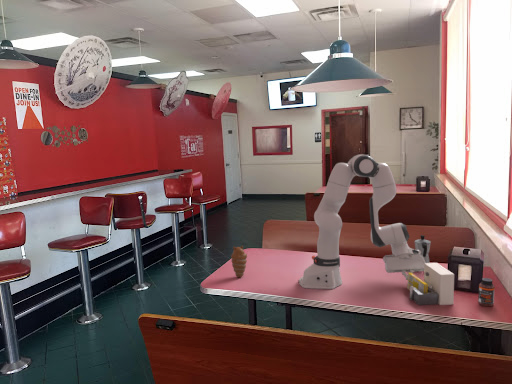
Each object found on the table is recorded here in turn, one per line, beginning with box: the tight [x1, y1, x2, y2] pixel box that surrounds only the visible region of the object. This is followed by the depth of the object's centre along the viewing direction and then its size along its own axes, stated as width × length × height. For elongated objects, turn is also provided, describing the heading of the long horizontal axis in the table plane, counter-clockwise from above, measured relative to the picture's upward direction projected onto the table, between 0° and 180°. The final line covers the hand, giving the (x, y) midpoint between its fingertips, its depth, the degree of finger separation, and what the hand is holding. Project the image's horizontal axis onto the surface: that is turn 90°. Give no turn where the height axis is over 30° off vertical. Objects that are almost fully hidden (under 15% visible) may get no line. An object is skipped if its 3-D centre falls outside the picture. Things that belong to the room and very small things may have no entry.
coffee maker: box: [414, 234, 432, 263], centre depth 223 cm, size 15×9×18 cm, turn 168°
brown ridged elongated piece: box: [230, 245, 248, 278], centre depth 217 cm, size 9×8×18 cm
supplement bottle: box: [477, 277, 496, 307], centre depth 172 cm, size 6×6×11 cm
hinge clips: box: [409, 285, 438, 306], centre depth 178 cm, size 11×8×6 cm
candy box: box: [406, 272, 428, 293], centre depth 185 cm, size 16×2×8 cm, turn 4°
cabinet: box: [423, 262, 455, 306], centre depth 180 cm, size 7×16×14 cm, turn 1°
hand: (409, 279), depth 193 cm, fingers closed, pressing on candy box
